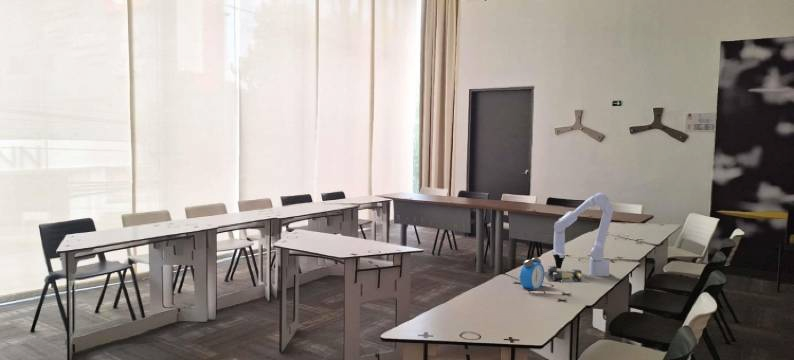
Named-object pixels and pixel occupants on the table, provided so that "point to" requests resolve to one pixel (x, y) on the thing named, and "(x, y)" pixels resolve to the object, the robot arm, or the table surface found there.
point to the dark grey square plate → (573, 279)
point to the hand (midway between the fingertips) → (558, 268)
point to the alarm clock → (532, 273)
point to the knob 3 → (576, 273)
